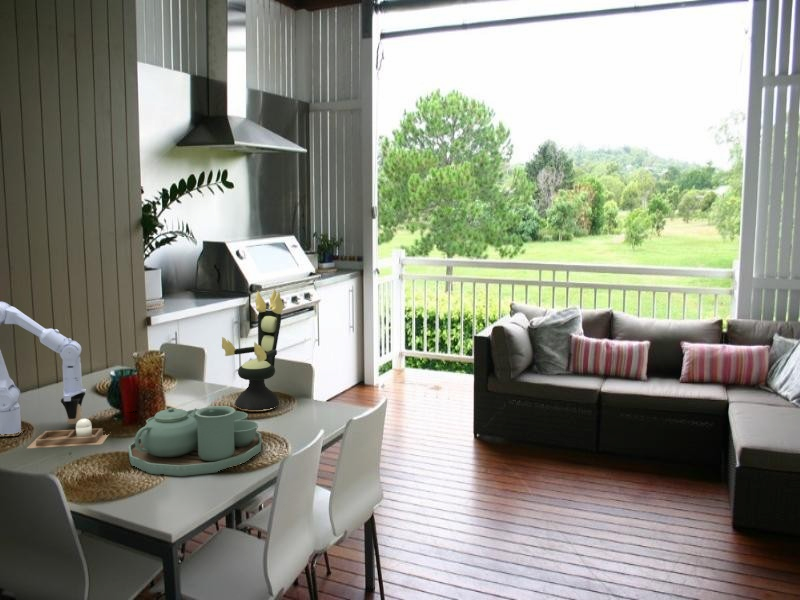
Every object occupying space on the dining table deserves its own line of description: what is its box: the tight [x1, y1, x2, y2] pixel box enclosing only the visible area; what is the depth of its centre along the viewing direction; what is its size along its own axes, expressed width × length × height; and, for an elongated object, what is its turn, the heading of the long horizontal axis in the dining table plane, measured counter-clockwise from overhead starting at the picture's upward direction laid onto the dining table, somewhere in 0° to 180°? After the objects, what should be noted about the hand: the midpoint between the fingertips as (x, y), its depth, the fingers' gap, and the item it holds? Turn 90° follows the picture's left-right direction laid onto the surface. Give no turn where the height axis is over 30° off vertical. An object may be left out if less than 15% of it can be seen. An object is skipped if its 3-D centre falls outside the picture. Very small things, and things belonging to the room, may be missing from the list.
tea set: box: [127, 405, 262, 477], centre depth 205 cm, size 40×40×16 cm
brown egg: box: [66, 404, 83, 425], centre depth 226 cm, size 5×5×7 cm
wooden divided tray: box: [25, 427, 110, 449], centre depth 214 cm, size 22×13×2 cm, turn 101°
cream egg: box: [75, 418, 93, 437], centre depth 215 cm, size 5×5×7 cm
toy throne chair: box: [221, 288, 284, 410], centre depth 254 cm, size 19×22×45 cm
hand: (74, 416), depth 226 cm, fingers closed on brown egg, 5 cm apart
